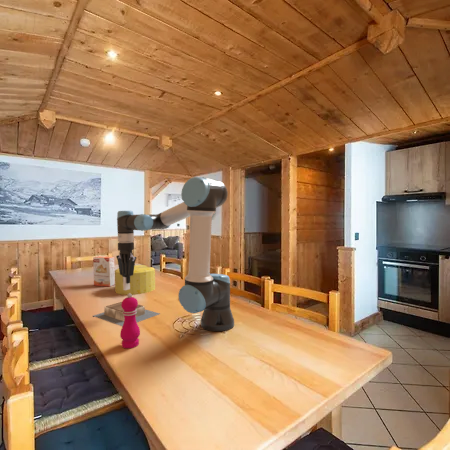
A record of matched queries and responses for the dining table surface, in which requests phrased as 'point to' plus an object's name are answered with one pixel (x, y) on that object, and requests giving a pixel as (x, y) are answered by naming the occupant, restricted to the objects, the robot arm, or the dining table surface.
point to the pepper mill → (130, 323)
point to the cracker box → (104, 271)
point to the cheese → (136, 281)
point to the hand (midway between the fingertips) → (126, 289)
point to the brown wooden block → (121, 311)
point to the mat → (140, 318)
